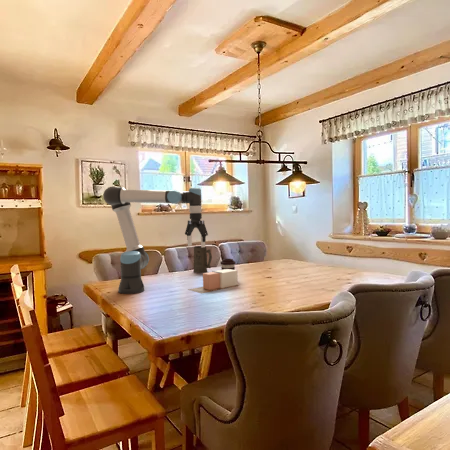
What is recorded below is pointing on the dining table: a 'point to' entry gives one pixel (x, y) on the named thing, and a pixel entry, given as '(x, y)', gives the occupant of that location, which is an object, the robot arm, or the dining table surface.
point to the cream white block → (228, 277)
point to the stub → (211, 280)
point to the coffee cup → (228, 264)
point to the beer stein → (201, 259)
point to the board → (202, 290)
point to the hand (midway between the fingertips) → (196, 246)
